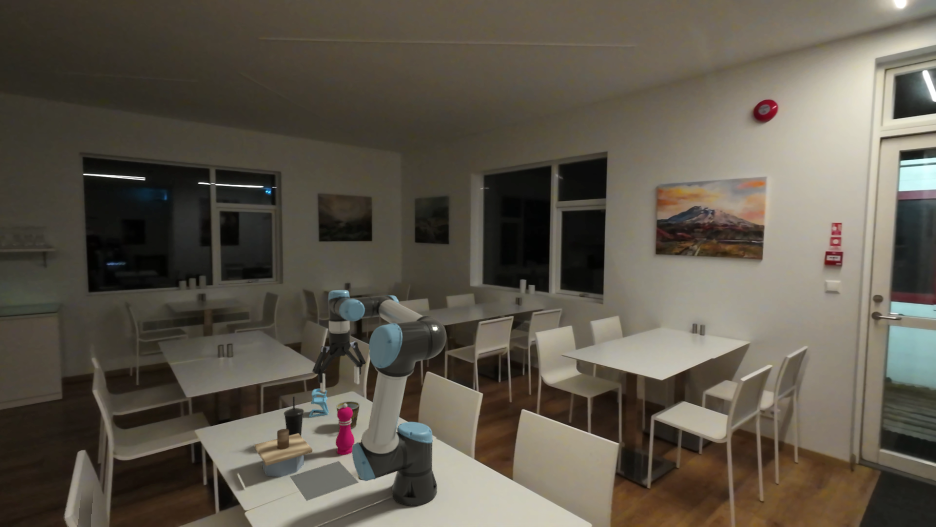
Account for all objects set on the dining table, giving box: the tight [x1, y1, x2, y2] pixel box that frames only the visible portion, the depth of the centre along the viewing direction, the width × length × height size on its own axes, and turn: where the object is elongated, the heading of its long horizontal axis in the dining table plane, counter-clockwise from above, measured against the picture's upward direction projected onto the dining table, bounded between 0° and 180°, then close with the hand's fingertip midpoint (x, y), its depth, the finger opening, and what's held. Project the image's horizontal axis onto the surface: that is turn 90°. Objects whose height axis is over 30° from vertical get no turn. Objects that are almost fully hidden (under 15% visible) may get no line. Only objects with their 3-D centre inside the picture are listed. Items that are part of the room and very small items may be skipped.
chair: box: [308, 388, 330, 418], centre depth 215 cm, size 8×8×12 cm
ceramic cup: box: [336, 400, 360, 430], centre depth 200 cm, size 13×10×10 cm
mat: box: [289, 460, 359, 501], centre depth 159 cm, size 18×18×1 cm
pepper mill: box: [335, 403, 355, 456], centre depth 178 cm, size 7×7×20 cm
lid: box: [254, 428, 313, 466], centre depth 166 cm, size 16×16×7 cm
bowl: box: [262, 455, 305, 478], centre depth 166 cm, size 13×13×7 cm
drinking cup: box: [283, 396, 305, 437], centre depth 185 cm, size 8×8×20 cm
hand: (340, 387), depth 170 cm, fingers open, 13 cm apart
